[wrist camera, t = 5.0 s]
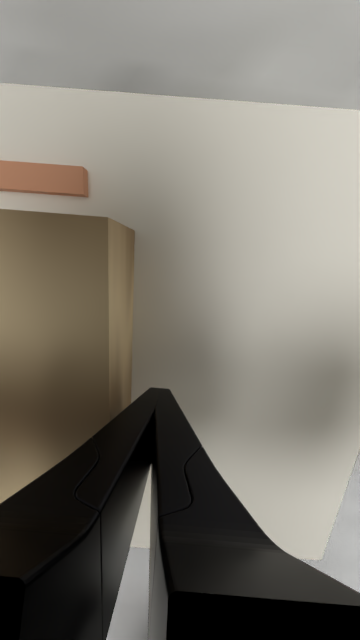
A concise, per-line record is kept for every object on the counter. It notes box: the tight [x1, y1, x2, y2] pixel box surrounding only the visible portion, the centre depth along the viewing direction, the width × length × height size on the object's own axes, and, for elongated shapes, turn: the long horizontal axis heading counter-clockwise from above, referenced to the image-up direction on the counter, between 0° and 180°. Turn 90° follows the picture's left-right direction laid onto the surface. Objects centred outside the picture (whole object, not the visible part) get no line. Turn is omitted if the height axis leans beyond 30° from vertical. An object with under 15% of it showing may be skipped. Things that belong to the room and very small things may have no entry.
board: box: [0, 83, 360, 560], centre depth 10 cm, size 20×30×1 cm, turn 86°
